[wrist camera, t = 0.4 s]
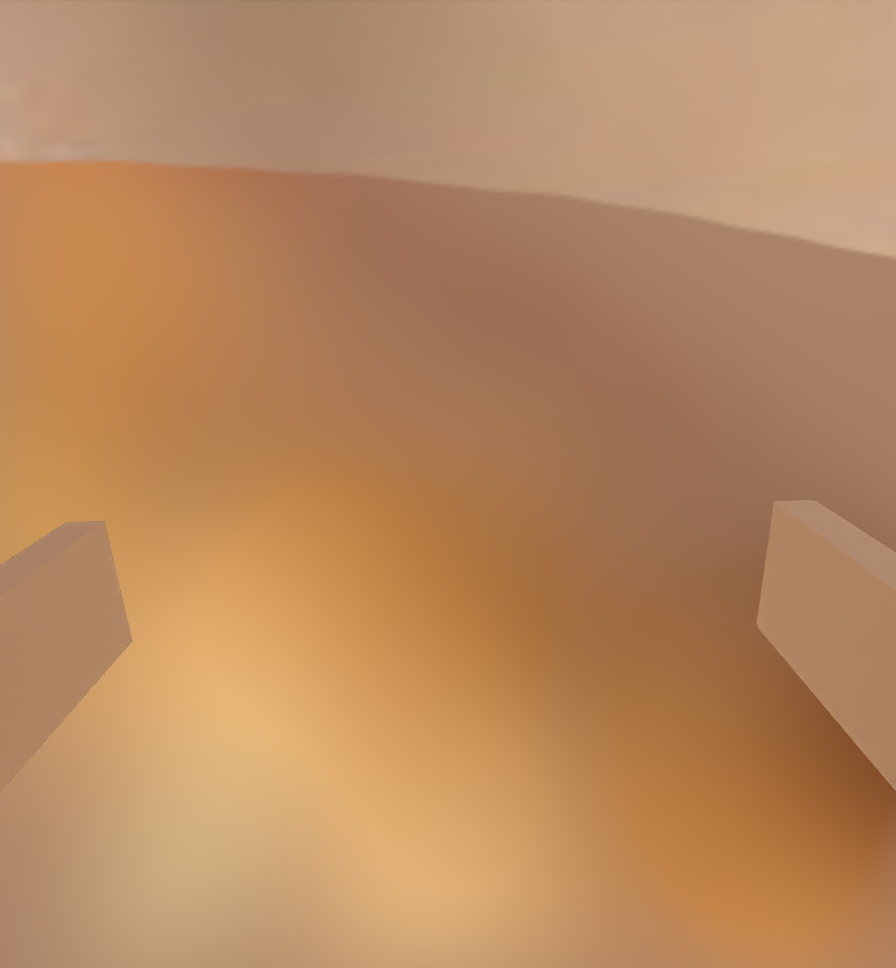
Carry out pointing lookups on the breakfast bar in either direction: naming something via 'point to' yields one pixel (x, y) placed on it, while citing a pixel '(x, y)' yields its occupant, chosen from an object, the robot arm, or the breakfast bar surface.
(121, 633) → the robot arm
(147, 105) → the breakfast bar surface
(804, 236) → the breakfast bar surface
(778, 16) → the breakfast bar surface
